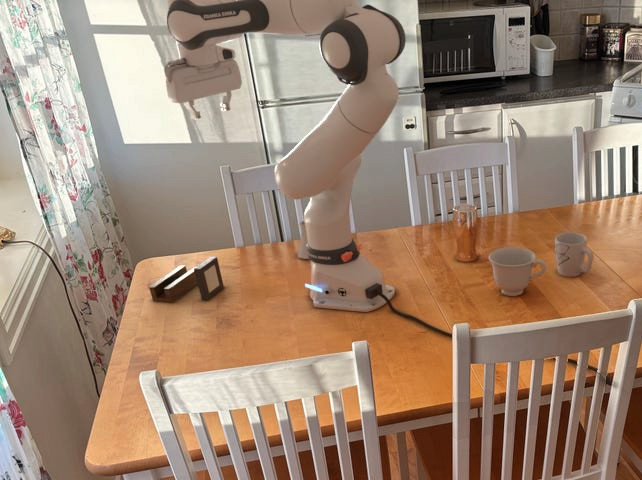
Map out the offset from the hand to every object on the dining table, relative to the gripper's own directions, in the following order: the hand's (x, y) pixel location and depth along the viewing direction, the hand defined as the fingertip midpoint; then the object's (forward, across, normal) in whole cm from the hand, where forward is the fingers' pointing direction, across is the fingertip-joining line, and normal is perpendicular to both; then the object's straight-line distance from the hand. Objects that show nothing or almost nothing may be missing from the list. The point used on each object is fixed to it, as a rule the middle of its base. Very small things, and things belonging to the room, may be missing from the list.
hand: (211, 114), depth 181 cm
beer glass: (+44, +38, -49) cm, 76 cm away
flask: (+44, +18, -7) cm, 48 cm away
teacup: (+44, +26, -73) cm, 89 cm away
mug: (+44, +43, -81) cm, 102 cm away
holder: (+43, -17, +8) cm, 47 cm away
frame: (+43, -14, -2) cm, 45 cm away
